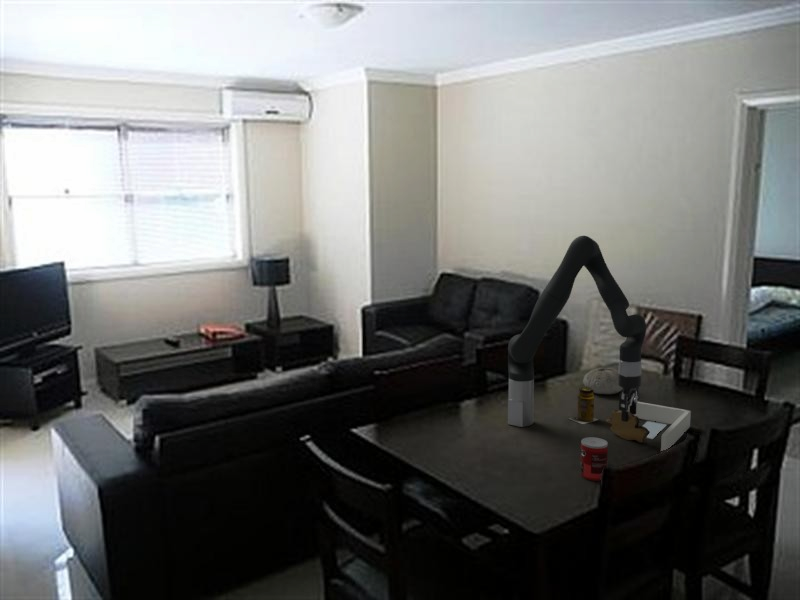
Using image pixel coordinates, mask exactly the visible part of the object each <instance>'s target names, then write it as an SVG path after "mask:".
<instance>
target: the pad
mask: <svg viewBox="0 0 800 600" xmlns="http://www.w3.org/2000/svg"><path fill="white" fill-rule="evenodd" d="M667 425H668V424H666V423H661V422H655V421H650V420H646V421H645V423H644V424H642V426H643V427H645V428H647V429H648V431H649V432H650V433H649V434H648V436H647V438H646V439H649V440H653V439H655V437H656V436H657V434H658V433H659V432H660V431H661V432H662V431H663V429H665V428H667ZM661 432H660V433H661ZM660 433H659V434H660ZM659 434H658V435H659Z"/></svg>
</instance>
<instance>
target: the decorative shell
mask: <svg viewBox="0 0 800 600" xmlns="http://www.w3.org/2000/svg"><path fill="white" fill-rule="evenodd" d="M618 371H619V369H618V368H617V369H616V368H614V367H613V368H612V367H596V368H593V369H591V370H590V371H588V372H586V373H585V375H584V376H582V378H583V381H582V383H583V384H584V387H589V388H592V389H593V394H598V395H614V394H618V393H619V392H620V393H621V392H622V391H623V387H620V386H619V385H618Z"/></svg>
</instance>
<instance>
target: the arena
mask: <svg viewBox="0 0 800 600" xmlns="http://www.w3.org/2000/svg"><path fill="white" fill-rule="evenodd" d="M621 405H622V404H621ZM624 407H625V405H624ZM618 411H620V410H619V409H618ZM629 411H630V407H629ZM691 413H692V411H691V410H688V409H684V408H683V409H682V408H677V407H672V406H670V407H669V406H667V405H666V406H665V405H660V404H653V403H647V402H643V401H638V403H637V407H636V414H635V415H634V414H633V415H634V416H637V417H638V419H639V420H640V419H641V420H645V421H651V422H655V421H656V423H661V424H667V425H670V426H668V428H667V429H665V431H664V432H663V433H662V434H661V442H660V452H661V451H663V450H666V449H668V448H670V447H671V446H672V445H673V446H674V444H676V442H677V441H678V440H679V439H680V438H681V437H682V436H683V435H684V434H685V433H686V432H687V431H688V429H689V428H690V427H691V416H692V415H691ZM684 432H685V433H684ZM671 448H672V447H671ZM671 448H670V449H671Z"/></svg>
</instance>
